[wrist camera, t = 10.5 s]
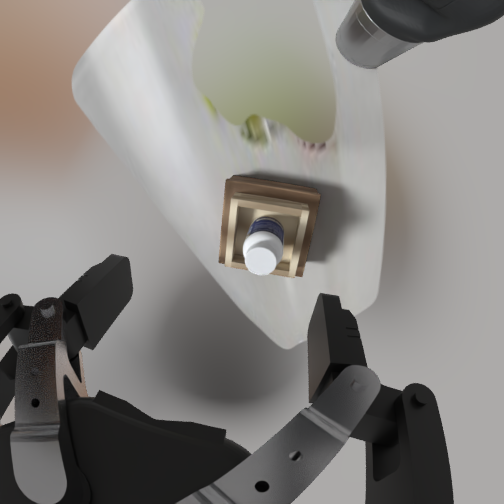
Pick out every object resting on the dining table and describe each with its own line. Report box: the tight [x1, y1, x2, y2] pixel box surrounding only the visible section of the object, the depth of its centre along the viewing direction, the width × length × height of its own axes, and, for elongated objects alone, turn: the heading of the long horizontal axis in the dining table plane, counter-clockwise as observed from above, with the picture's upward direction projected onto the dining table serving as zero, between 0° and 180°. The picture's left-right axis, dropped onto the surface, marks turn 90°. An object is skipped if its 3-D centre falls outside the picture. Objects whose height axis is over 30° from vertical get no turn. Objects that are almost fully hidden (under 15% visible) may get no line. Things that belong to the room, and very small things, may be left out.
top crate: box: [225, 192, 309, 278], centre depth 41 cm, size 11×11×4 cm
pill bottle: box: [243, 216, 284, 275], centre depth 38 cm, size 5×5×10 cm
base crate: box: [219, 175, 321, 277], centre depth 45 cm, size 14×14×5 cm
